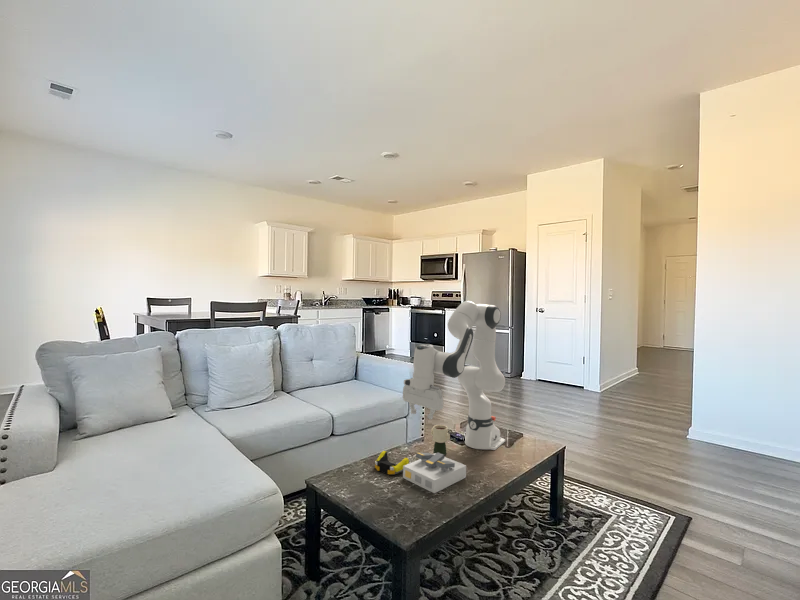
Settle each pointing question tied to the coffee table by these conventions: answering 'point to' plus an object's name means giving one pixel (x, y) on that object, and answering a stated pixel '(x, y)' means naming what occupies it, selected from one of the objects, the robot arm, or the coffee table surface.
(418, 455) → the block
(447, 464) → the block
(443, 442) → the character mug
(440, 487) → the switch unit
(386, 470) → the gaming controller
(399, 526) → the coffee table surface
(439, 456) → the block
